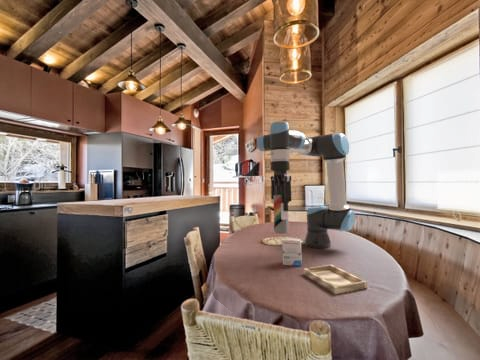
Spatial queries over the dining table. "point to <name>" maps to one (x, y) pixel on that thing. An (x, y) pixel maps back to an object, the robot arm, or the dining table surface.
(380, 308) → the dining table surface
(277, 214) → the lotion bottle
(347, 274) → the tray
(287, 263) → the ink box
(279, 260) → the dining table surface
